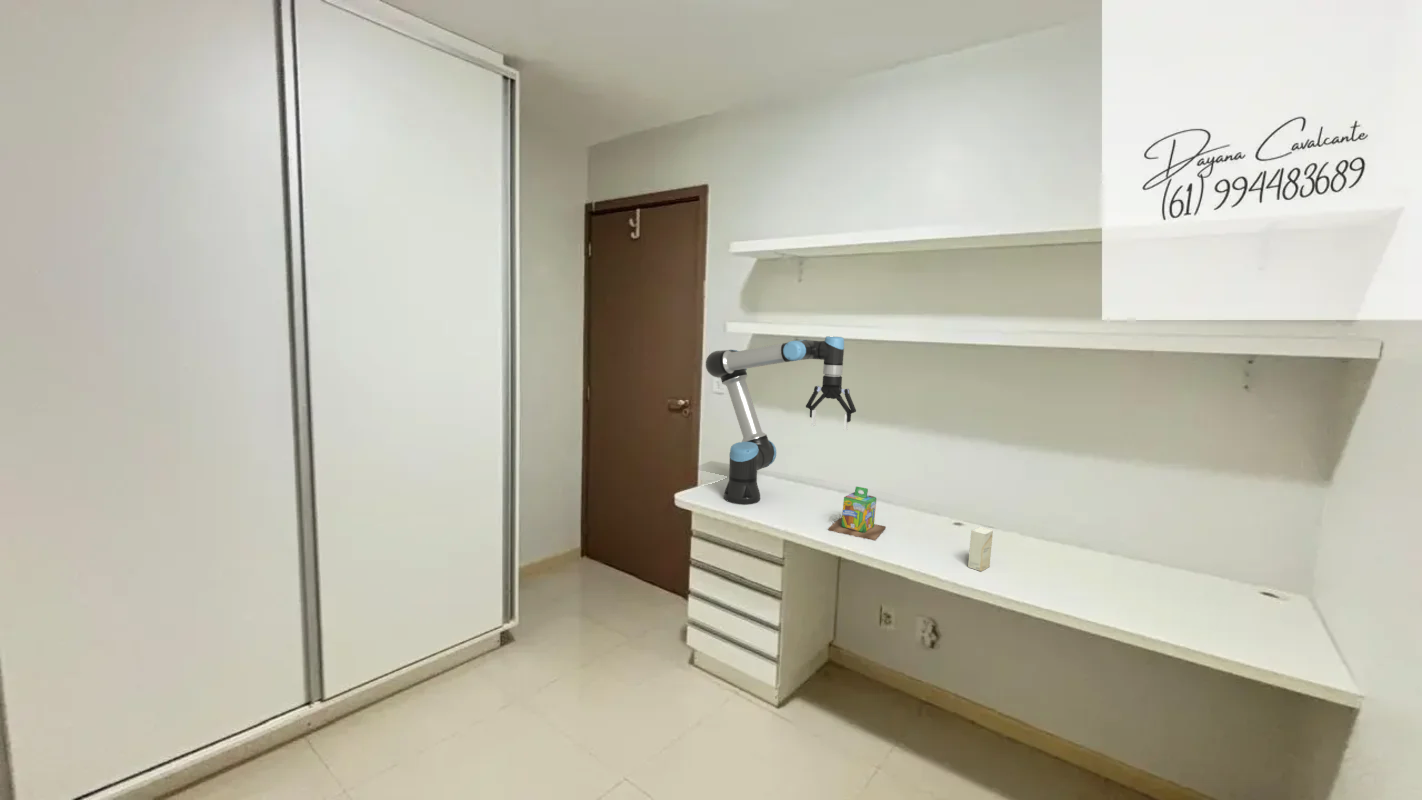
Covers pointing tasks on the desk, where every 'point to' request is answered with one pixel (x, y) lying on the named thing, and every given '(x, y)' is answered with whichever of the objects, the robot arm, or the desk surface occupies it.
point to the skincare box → (980, 548)
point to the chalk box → (859, 511)
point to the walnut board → (869, 534)
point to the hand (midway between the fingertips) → (829, 427)
